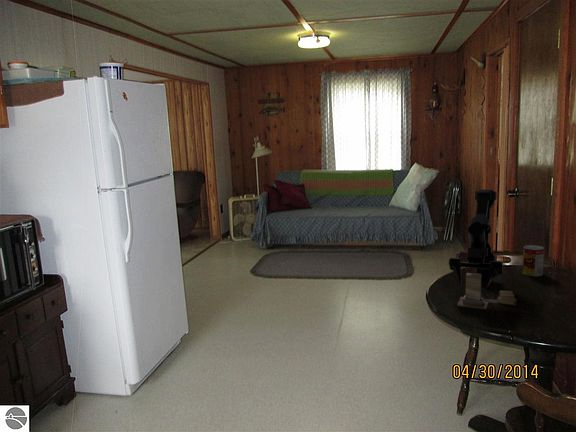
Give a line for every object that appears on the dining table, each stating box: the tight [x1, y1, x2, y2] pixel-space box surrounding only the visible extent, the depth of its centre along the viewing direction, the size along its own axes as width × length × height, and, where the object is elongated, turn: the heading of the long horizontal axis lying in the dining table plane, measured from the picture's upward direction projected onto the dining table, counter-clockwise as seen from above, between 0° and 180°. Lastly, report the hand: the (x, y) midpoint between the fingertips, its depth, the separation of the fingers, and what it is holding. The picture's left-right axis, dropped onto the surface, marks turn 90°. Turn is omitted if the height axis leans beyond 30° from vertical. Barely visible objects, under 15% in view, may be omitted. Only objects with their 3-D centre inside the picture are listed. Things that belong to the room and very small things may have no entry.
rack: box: [456, 294, 517, 310], centre depth 174 cm, size 14×19×3 cm
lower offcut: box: [498, 294, 514, 305], centre depth 174 cm, size 6×5×2 cm
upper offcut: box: [498, 290, 515, 300], centre depth 174 cm, size 5×4×2 cm
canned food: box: [522, 244, 545, 277], centre depth 204 cm, size 8×8×12 cm
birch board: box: [465, 272, 482, 301], centre depth 173 cm, size 3×5×11 cm, turn 62°
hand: (473, 285), depth 172 cm, fingers open, 9 cm apart
